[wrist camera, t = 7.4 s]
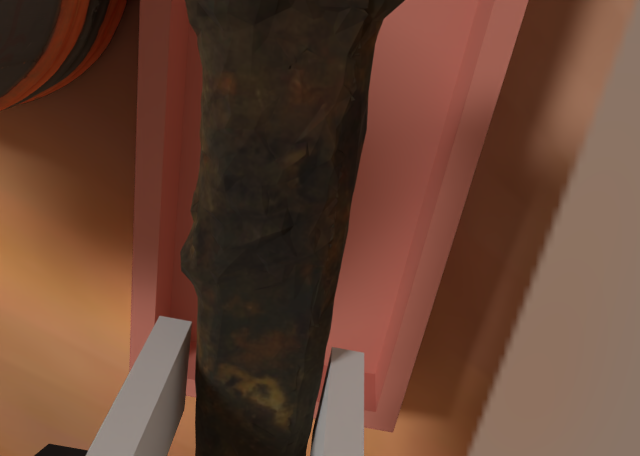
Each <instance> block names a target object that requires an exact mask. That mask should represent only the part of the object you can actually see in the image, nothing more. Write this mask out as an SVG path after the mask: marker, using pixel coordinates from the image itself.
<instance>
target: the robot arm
mask: <svg viewBox="0 0 640 456" xmlns="http://www.w3.org/2000/svg"><path fill="white" fill-rule="evenodd" d="M191 328H192V321H186V320H180V319H175V318H169V317H164V316H159V318H158V320H157V321H156V323H155V325H154V327H153V329H152V331H151V333H150V335H149V337H148V338H147V340H146V342H145V344H144V346H143V348H142V350H141V352H140V354H139V356H138V357H137V359H136V361H135V363H134V365H133V367H132V369H131V371H130V373H129V374H128V376H127V378H126V380H125V382H124V384H123V386H122V388H121V390H120V392H119V393H118V395H117V397H116V399H115V401H114V403H113V405H112V407H111V409H110V410H109V412H108V414H107V416H106V418H105V420H104V422H103V424H102V426H101V428H100V429H99V431H98V433H97V435H96V437H95V439H94V441H93V443H92V445H91V446H90V448H89V450H88V451H87V450H82V449H76V448H70V447H65V446H59V445H53V444H48V445H47V446H46V447H44V448H43V449H42V450H41V451H39V452H38V453H37V454H36V455H35V456H167V454H168V451H169V449H170V446H171V443H172V441H173V438H174V435H175V433H176V430H177V427H178V425H179V422H180V419H181V417H182V414H183V411H184V407H185V396H186V385H187V373H188V362H189V351H190V340H191ZM310 456H364V353H363V352H357V351H352V350H346V349H341V348H335V347H332V349H331V354H330V358H329V363H328V367H327V371H326V376H325V380H324V385H323V389H322V393H321V398H320V402H319V407H318V411H317V415H316V420H315V424H314V429H313V434H312V444H311V453H310Z"/></svg>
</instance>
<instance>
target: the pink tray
mask: <svg viewBox="0 0 640 456" xmlns="http://www.w3.org/2000/svg"><path fill="white" fill-rule="evenodd" d="M528 1H529V0H405V1H404V2H403V3H402V4H400V5H399V6H398V7H397V8H396V9H395V10H394V11H392V12H391V13H390V14H389V15H388V16H387V17H385V18H384V20H383V23H382V25H381V28H380V30H379V33H378V36H377V40H376V43H375V50H374V57H373V64H372V71H371V78H370V86H369V95H368V116H367V131H366V136H365V140H364V144H363V149H362V153H361V158H360V164H359V169H358V174H357V180H356V185H355V189H354V193H353V197H352V203H351V209H350V218H349V228H348V234H347V239H346V244H345V249H344V253H343V258H342V263H341V268H340V274H339V279H338V284H337V289H336V293H335V298H334V306H333V316H332V323H331V330H330V334H329V339H328V343H327V347H326V352H325V360H324V367H323V373H322V379H321V384H320V389H319V394H318V397H317V401H316V405H315V411H314V416H313V418H315V419H316V415H317V411H318V407H319V402H320V398H321V393H322V389H323V385H324V380H325V376H326V371H327V367H328V363H329V358H330V354H331V349H332V347H335V348H341V349H346V350H352V351H357V352H363V353H364V427H365V428H371V429H376V430H382V431H388V432H393V431H394V428H395V425H396V421H397V418H398V415H399V412H400V409H401V405H402V402H403V399H404V396H405V393H406V390H407V386H408V383H409V380H410V377H411V374H412V370H413V367H414V364H415V361H416V358H417V354H418V351H419V348H420V345H421V342H422V339H423V335H424V332H425V329H426V326H427V323H428V319H429V316H430V313H431V310H432V307H433V303H434V300H435V297H436V294H437V291H438V288H439V284H440V281H441V278H442V275H443V272H444V268H445V265H446V262H447V259H448V256H449V252H450V249H451V246H452V243H453V240H454V237H455V233H456V230H457V227H458V224H459V221H460V217H461V214H462V211H463V208H464V205H465V202H466V198H467V195H468V192H469V189H470V186H471V182H472V179H473V176H474V173H475V170H476V166H477V163H478V160H479V157H480V154H481V151H482V147H483V144H484V141H485V138H486V135H487V131H488V128H489V125H490V122H491V119H492V115H493V112H494V109H495V106H496V103H497V100H498V96H499V93H500V90H501V87H502V84H503V80H504V77H505V74H506V71H507V68H508V64H509V61H510V58H511V55H512V52H513V49H514V45H515V42H516V39H517V36H518V33H519V29H520V26H521V23H522V20H523V17H524V13H525V10H526V7H527V4H528ZM201 94H202V64H201V59H200V54H199V50H198V45H197V35H196V33H195V31H194V30H193V28H192V26H191V25H190V23H189V19H188V14H187V8H186V3H185V0H140V18H139V53H138V88H137V123H136V158H135V193H134V228H133V263H132V299H131V334H130V369H129V373H130V371H131V369H132V367H133V365H134V363H135V361H136V359H137V357H138V356H139V354H140V352H141V350H142V348H143V346H144V344H145V342H146V340H147V338H148V337H149V335H150V333H151V331H152V329H153V327H154V325H155V323H156V321H157V320H158V318H159V316H164V317H169V318H175V319H180V320H186V321H192V328H191V340H190V351H189V362H188V373H187V385H186V396H191V397H196V387H195V365H196V347H197V313H198V297H197V294H196V291H195V288H194V285H193V284H192V283H191V281H190V280H189V279H188V278H187V277H186V276H185V274H184V273H183V272H182V271H181V256H180V252H181V249H182V247H183V245H184V243H185V241H186V239H187V237H188V236H189V233H190V231H191V228H192V225H193V218H192V215H191V211H190V210H191V205H192V199H193V194H194V191H195V190H196V185H197V181H198V174H199V167H200V154H201V143H200V135H199V133H200V123H201Z"/></svg>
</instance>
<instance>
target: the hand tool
mask: <svg viewBox="0 0 640 456" xmlns="http://www.w3.org/2000/svg"><path fill="white" fill-rule="evenodd" d="M404 1H405V0H185V3H186V8H187V14H188V19H189V23H190V25H191V26H192V28H193V30H194V31H195V33H196V35H197V45H198V50H199V54H200V59H201V64H202V94H201V123H200V133H199V135H200V143H201V154H200V167H199V174H198V181H197V185H196V190H195V191H194V194H193V199H192V205H191V210H190V211H191V215H192V218H193V225H192V228H191V231H190V233H189V236H188V237H187V239H186V241H185V243H184V245H183V247H182V249H181V252H180V256H181V271H182V272H183V273H184V274H185V276H186V277H187V278H188V279H189V280H190V281H191V283H192V284H193V285H194V288H195V291H196V294H197V297H198V313H197V347H196V365H195V387H196V416H195V430H196V453H195V456H306V448H307V443H308V439H309V436H310V432H311V427H312V422H313V416H314V411H315V405H316V401H317V397H318V394H319V389H320V384H321V379H322V373H323V367H324V360H325V352H326V347H327V343H328V339H329V334H330V330H331V323H332V316H333V306H334V298H335V293H336V289H337V284H338V279H339V274H340V268H341V263H342V258H343V253H344V249H345V244H346V239H347V234H348V228H349V218H350V209H351V203H352V197H353V193H354V189H355V185H356V180H357V174H358V169H359V164H360V158H361V153H362V149H363V144H364V140H365V136H366V131H367V116H368V95H369V86H370V78H371V71H372V64H373V57H374V50H375V43H376V40H377V36H378V33H379V30H380V28H381V25H382V23H383V20H384V18H385V17H387V16H388V15H389V14H390V13H391V12H392V11H394V10H395V9H396V8H397V7H398V6H399V5H400V4H402V3H403V2H404Z"/></svg>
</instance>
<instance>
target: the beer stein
mask: <svg viewBox="0 0 640 456" xmlns="http://www.w3.org/2000/svg"><path fill="white" fill-rule="evenodd" d="M126 2H127V0H0V111H2V110H5V109H7V108H10V107H12V106H15V105H18V104H22V103H26V102H30V101H33V100H36V99H38V98H41V97H43V96H46V95H48V94H50V93H52V92H54V91H56V90H58V89H60V88H61V87H63V86H65V85H67V84H68V83H70V82H72V81H73V80H74V79H76V78H77V77H78V76H80V75H81V74H82V73H83V72H85V71H86V70H87V69H88V68H89V67H90V66H91V65H92V64H93V63H94V62H95V61H96V60H97V59H98V58H99V57H100V55H101V54H102V53H103V52H104V50H105V49H106V47H107V46H108V44H109V42H110V41H111V39H112V37H113V35H114V32H115V30H116V28H117V26H118V24H119V23H120V20H121V17H122V14H123V12H124V9H125V6H126Z"/></svg>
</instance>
